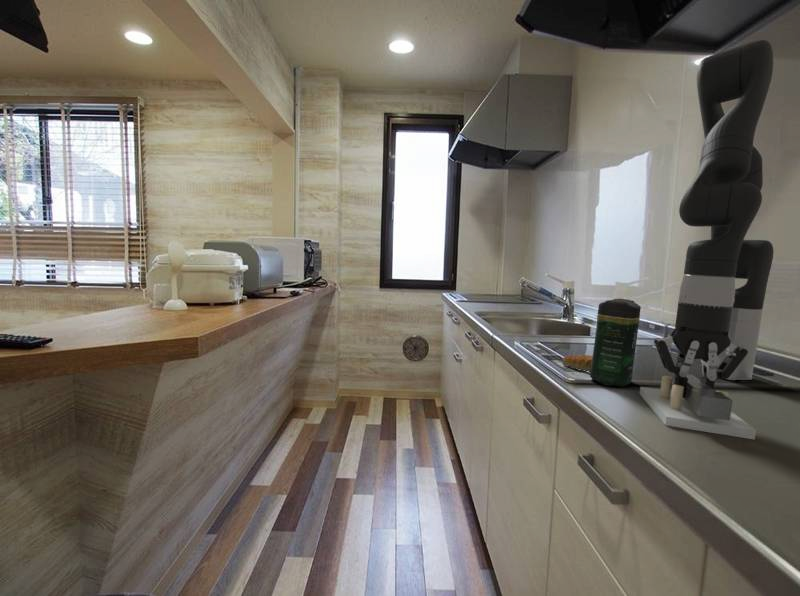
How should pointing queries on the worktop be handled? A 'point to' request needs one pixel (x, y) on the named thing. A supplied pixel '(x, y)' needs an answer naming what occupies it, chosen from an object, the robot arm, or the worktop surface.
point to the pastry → (579, 362)
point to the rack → (690, 412)
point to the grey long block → (707, 400)
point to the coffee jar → (615, 342)
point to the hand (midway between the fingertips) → (691, 397)
